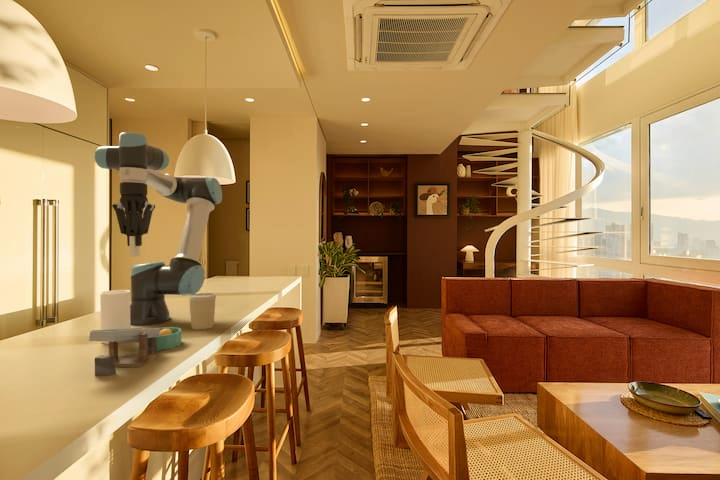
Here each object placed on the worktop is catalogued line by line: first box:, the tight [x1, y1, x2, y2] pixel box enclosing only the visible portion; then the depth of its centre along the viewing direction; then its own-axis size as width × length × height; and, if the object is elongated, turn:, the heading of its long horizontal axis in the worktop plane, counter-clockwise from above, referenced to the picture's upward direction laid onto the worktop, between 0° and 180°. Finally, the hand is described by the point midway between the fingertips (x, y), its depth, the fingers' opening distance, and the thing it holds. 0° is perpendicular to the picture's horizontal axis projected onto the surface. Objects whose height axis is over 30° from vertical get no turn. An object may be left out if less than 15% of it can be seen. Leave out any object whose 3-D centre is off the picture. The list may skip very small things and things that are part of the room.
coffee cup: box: [188, 292, 217, 330], centre depth 140 cm, size 9×9×12 cm
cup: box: [99, 289, 131, 345], centre depth 123 cm, size 8×8×16 cm
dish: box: [156, 326, 182, 351], centre depth 118 cm, size 11×11×4 cm
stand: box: [94, 333, 157, 377], centre depth 103 cm, size 19×11×8 cm, turn 176°
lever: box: [88, 327, 161, 344], centre depth 103 cm, size 20×11×4 cm, turn 176°
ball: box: [158, 329, 172, 336], centre depth 120 cm, size 4×4×4 cm
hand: (134, 256), depth 120 cm, fingers closed
